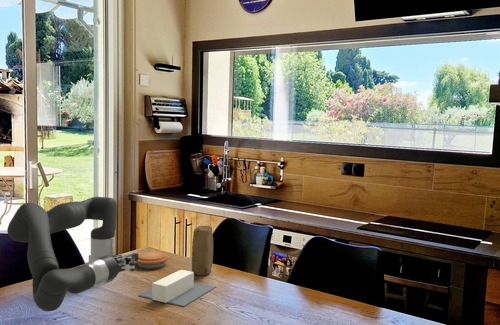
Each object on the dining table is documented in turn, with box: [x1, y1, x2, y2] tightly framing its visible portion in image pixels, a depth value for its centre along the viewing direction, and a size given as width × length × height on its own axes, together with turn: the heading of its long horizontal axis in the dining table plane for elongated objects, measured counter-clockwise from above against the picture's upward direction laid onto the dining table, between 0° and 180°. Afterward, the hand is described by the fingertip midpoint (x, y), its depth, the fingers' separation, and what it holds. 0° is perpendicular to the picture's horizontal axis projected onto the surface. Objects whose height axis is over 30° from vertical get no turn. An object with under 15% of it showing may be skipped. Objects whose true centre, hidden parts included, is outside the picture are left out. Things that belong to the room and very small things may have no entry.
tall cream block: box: [151, 269, 195, 304], centre depth 170 cm, size 6×6×18 cm
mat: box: [137, 281, 217, 308], centre depth 173 cm, size 20×22×1 cm
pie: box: [135, 250, 170, 270], centre depth 205 cm, size 16×16×5 cm
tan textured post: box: [191, 225, 214, 276], centre depth 196 cm, size 11×8×20 cm
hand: (136, 256), depth 150 cm, fingers closed
